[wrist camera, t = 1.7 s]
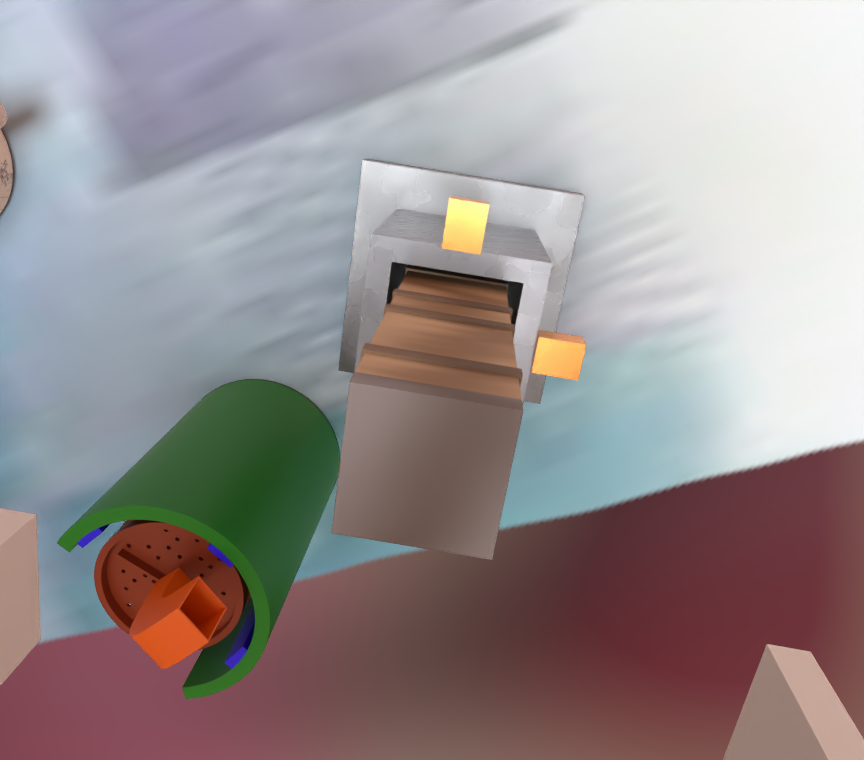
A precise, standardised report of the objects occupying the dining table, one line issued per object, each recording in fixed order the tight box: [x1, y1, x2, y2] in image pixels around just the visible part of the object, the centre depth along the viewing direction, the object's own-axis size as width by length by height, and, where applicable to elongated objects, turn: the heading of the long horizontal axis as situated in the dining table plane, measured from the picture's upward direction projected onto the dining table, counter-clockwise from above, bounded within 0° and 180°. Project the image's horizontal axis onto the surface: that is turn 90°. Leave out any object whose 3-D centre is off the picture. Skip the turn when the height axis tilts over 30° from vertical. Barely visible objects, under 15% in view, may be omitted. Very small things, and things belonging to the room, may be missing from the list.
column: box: [332, 265, 523, 560], centre depth 30 cm, size 5×5×23 cm
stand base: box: [339, 159, 586, 406], centre depth 37 cm, size 12×12×12 cm
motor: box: [57, 380, 340, 699], centre depth 37 cm, size 10×9×20 cm
